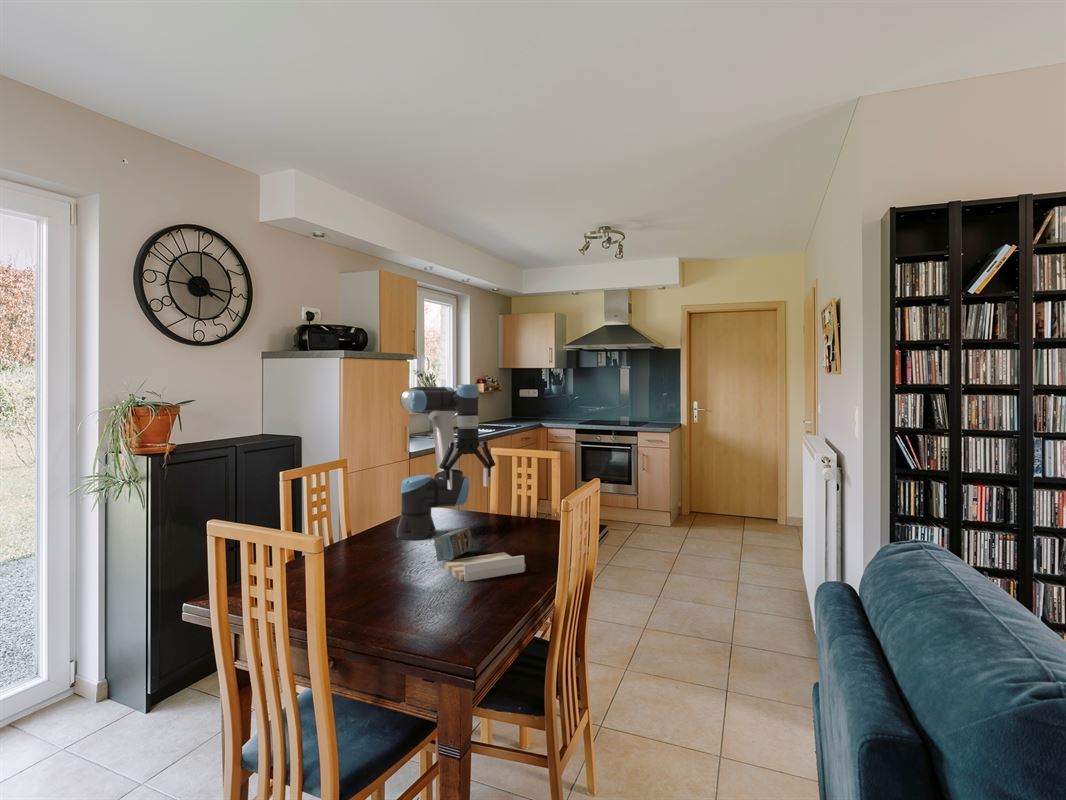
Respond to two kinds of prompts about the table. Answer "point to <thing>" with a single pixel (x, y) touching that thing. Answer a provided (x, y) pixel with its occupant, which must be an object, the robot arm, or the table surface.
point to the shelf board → (458, 564)
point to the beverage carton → (453, 544)
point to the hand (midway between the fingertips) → (468, 487)
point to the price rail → (493, 568)
